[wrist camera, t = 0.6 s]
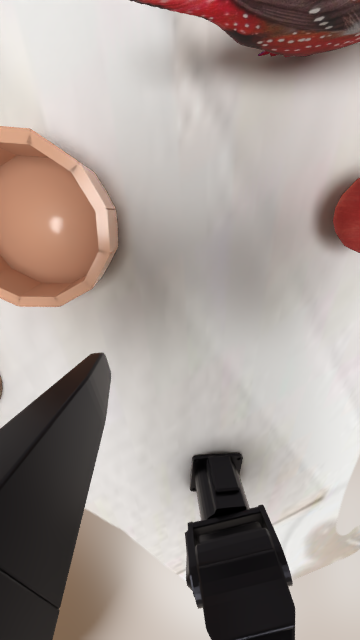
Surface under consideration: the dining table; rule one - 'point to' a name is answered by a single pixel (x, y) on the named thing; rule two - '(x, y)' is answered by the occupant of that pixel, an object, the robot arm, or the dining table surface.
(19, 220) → the bowl
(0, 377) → the lid
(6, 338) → the dining table surface
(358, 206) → the onion
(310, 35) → the decorative bird figurine
